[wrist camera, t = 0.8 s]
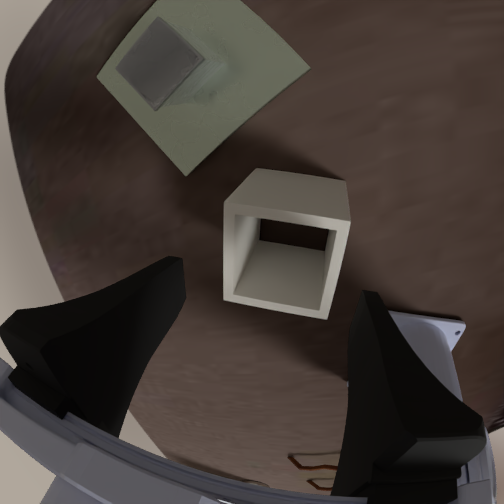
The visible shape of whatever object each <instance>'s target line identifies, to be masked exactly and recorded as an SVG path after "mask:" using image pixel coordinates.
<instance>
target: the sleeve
mask: <svg viewBox="0 0 504 504" xmlns="http://www.w3.org/2000/svg"><path fill="white" fill-rule="evenodd" d="M261 218H263V219H270V220H276V221H282V222H289V223H295V224H301V225H307V226H313V227H319V228H325V229H329V232H328V237H327V243H326V248H325V251H321V250H315V249H309V248H303V247H297V246H291V245H285V244H279V243H273V242H267V241H261V240H259V237H260V223H261ZM350 223H351V219H350V210H349V202H348V195H347V188H346V181H343V180H337V179H331V178H325V177H319V176H313V175H306V174H299V173H292V172H285V171H277V170H269V169H261V168H256V169H255V170H254V171H253V172H252V173H251V174H250V175H249V176H248V177H247V178H246V179H245V180H244V181H243V182H242V183H241V184H240V185H239V186H238V187H237V189H236V190H235V191H234V192H233V193H232V194H231V195H230V196H229V197H228V198H227V199H226V200H225V201H224V239H223V294H224V300H226V301H231V302H235V303H240V304H245V305H250V306H255V307H260V308H265V309H270V310H275V311H281V312H286V313H292V314H297V315H303V316H308V317H314V318H320V319H326V320H327V318H328V314H329V311H330V307H331V303H332V300H333V296H334V292H335V288H336V284H337V280H338V276H339V272H340V268H341V264H342V260H343V255H344V251H345V247H346V242H347V238H348V233H349V228H350Z"/></svg>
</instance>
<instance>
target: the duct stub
mask: <svg viewBox="0 0 504 504" xmlns="http://www.w3.org/2000/svg"><path fill="white" fill-rule="evenodd" d="M310 70H311V68H310V67H309V66H308V65H307V64H306V63H305V62H304V60H303V59H302V58H301V57H300V56H299V55H298V54H297V53H296V52H295V51H294V50H293V49H292V48H291V47H290V46H289V45H288V44H287V43H286V42H285V41H284V40H283V39H282V38H281V37H280V36H279V35H278V34H277V33H276V32H275V31H274V30H273V29H272V28H271V27H269V26H268V25H267V24H266V23H265V22H264V21H263V20H262V19H261V18H260V17H259V16H257V15H256V14H255V13H254V12H253V11H252V10H251V9H249V8H248V7H247V6H246V5H245V4H244V3H242V2H241V1H240V0H157V1H156V2H155V3H154V4H153V5H152V6H151V8H150V9H149V10H148V11H147V12H146V13H145V14H144V15H143V17H142V18H141V19H140V20H139V21H138V22H137V24H136V25H135V26H134V27H133V28H132V30H131V31H130V32H129V33H128V35H127V36H126V37H125V38H124V40H123V41H122V42H121V43H120V45H119V46H118V47H117V49H116V50H115V51H114V53H113V54H112V55H111V57H110V58H109V60H108V61H107V62H106V64H105V65H104V67H103V68H102V70H101V71H100V72H99V74H98V75H97V78H98V79H99V81H100V82H101V83H102V84H103V85H104V86H105V87H106V88H107V89H108V91H109V92H110V93H111V94H112V95H113V96H114V97H115V98H116V99H117V101H118V102H119V103H120V104H121V105H122V106H123V107H124V108H125V109H126V111H127V112H128V113H129V114H130V115H131V116H132V117H133V118H134V119H135V121H136V122H137V123H138V124H139V125H140V126H141V127H142V128H143V129H144V131H145V132H146V133H147V134H148V135H149V136H150V137H151V138H152V139H153V141H154V142H155V143H156V144H157V145H158V146H159V147H160V148H161V150H162V151H163V152H164V153H165V154H166V155H167V156H168V157H169V158H170V160H171V161H172V162H173V163H174V164H175V165H176V166H177V167H178V168H179V170H180V171H181V172H182V173H183V174H184V175H185V176H187V175H189V174H191V173H192V172H193V171H194V170H195V169H196V168H197V167H198V166H199V165H200V164H201V163H202V162H203V161H204V160H205V159H206V158H207V157H208V156H209V155H211V154H212V153H213V152H214V151H215V150H216V149H217V148H218V147H219V146H220V145H221V144H222V143H223V142H225V141H226V140H227V139H228V138H229V137H230V136H231V135H232V134H233V133H235V132H236V131H237V130H238V129H239V128H240V127H241V126H242V125H244V124H245V123H246V122H247V121H248V120H249V119H250V118H252V117H253V116H254V115H255V114H256V113H257V112H259V111H260V110H261V109H262V108H263V107H265V106H266V105H267V104H268V103H269V102H271V101H272V100H273V99H274V98H275V97H277V96H278V95H279V94H280V93H282V92H283V91H284V90H285V89H287V88H288V87H289V86H290V85H292V84H293V83H294V82H296V81H297V80H298V79H299V78H301V77H302V76H303V75H305V74H306V73H307V72H309V71H310Z"/></svg>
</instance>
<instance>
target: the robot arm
mask: <svg viewBox="0 0 504 504" xmlns="http://www.w3.org/2000/svg"><path fill="white" fill-rule="evenodd" d="M185 299H186V291H185V281H184V271H183V260H182V258H178V257H173V256H168V257H165V258H163V259H161V260H159V261H157V262H155V263H153V264H151V265H150V266H148V267H146V268H144V269H142V270H140V271H138V272H136V273H135V274H133V275H131V276H129V277H127V278H125V279H123V280H121V281H119V282H116V283H114V284H112V285H110V286H108V287H106V288H104V289H101V290H99V291H96V292H94V293H91V294H88V295H85V296H82V297H79V298H76V299H73V300H69V301H66V302H62V303H58V304H54V305H49V306H44V307H37V308H29V309H20V310H16V311H15V312H14V313H13V314H12V315H11V316H10V317H9V318H8V319H7V320H6V321H5V322H4V323H3V324H2V325H1V326H0V337H1V339H2V341H3V343H4V344H5V346H6V348H7V350H8V351H9V353H10V354H11V356H12V358H13V359H14V360H15V362H16V364H17V366H16V368H15V369H13V368H12V367H11V366H10V365H9V364H8V363H6V362H5V361H4V360H3V359H1V358H0V430H1V431H2V432H3V433H4V434H5V435H7V436H8V437H9V438H10V439H11V440H12V441H13V442H14V443H15V444H17V445H18V446H19V447H20V448H21V449H23V450H24V451H25V452H26V453H28V454H29V455H30V456H31V457H32V458H34V459H35V460H36V461H38V462H39V463H40V464H41V465H43V466H44V467H46V468H47V469H48V470H50V471H51V472H52V473H54V474H55V475H56V477H55V479H54V481H53V482H52V484H51V486H50V488H49V489H48V491H47V493H46V494H45V496H44V498H43V499H42V501H41V503H40V504H226V503H223V502H220V501H219V500H223V501H227V502H231V503H235V504H496V491H497V487H496V473H495V464H494V458H493V452H492V447H491V443H490V439H489V436H488V432H487V430H486V428H485V427H484V422H483V418H482V416H480V415H479V414H478V413H476V412H475V411H474V410H472V409H471V408H470V407H468V406H467V405H466V404H464V403H463V401H462V396H461V391H460V387H459V382H458V378H457V374H456V370H455V366H454V362H453V358H452V354H451V351H452V349H453V348H454V346H455V344H456V343H457V341H458V340H459V338H460V336H461V335H462V333H463V331H464V329H465V327H466V325H465V323H464V321H459V320H452V319H444V318H436V317H429V316H422V315H415V314H408V313H401V312H394V311H388V310H387V308H386V306H385V304H384V303H383V301H382V299H381V297H380V296H379V294H378V292H372V291H366V290H362V293H361V296H360V299H359V302H358V305H357V309H356V312H355V315H354V318H353V321H352V323H351V326H350V331H349V341H348V381H347V386H348V410H347V418H346V425H345V432H344V438H343V444H342V449H341V454H340V459H339V463H338V468H337V472H336V476H335V480H334V484H333V488H332V491H331V495H330V496H328V495H317V494H308V493H300V492H293V491H287V490H280V489H275V488H269V487H264V486H259V485H254V484H250V483H245V482H241V481H237V480H233V479H229V478H225V477H221V476H218V475H214V474H211V473H207V472H204V471H201V470H198V469H194V468H191V467H188V466H185V465H182V464H180V463H177V462H174V461H171V460H168V459H166V458H163V457H161V456H158V455H155V454H153V453H150V452H148V451H145V450H143V449H141V448H139V447H136V446H134V445H132V444H130V443H127V442H125V441H123V440H121V439H119V435H120V431H121V428H122V425H123V422H124V419H125V416H126V413H127V410H128V408H129V405H130V402H131V400H132V397H133V395H134V392H135V390H136V388H137V385H138V383H139V381H140V379H141V377H142V374H143V372H144V370H145V368H146V366H147V364H148V362H149V360H150V359H151V357H152V355H153V354H154V352H155V351H156V349H157V347H158V346H159V344H160V343H161V341H162V340H163V338H164V337H165V335H166V334H167V332H168V331H169V329H170V327H171V326H172V324H173V323H174V321H175V320H176V318H177V316H178V314H179V312H180V310H181V308H182V306H183V303H184V301H185ZM456 331H457V332H456ZM217 499H219V500H217Z"/></svg>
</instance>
